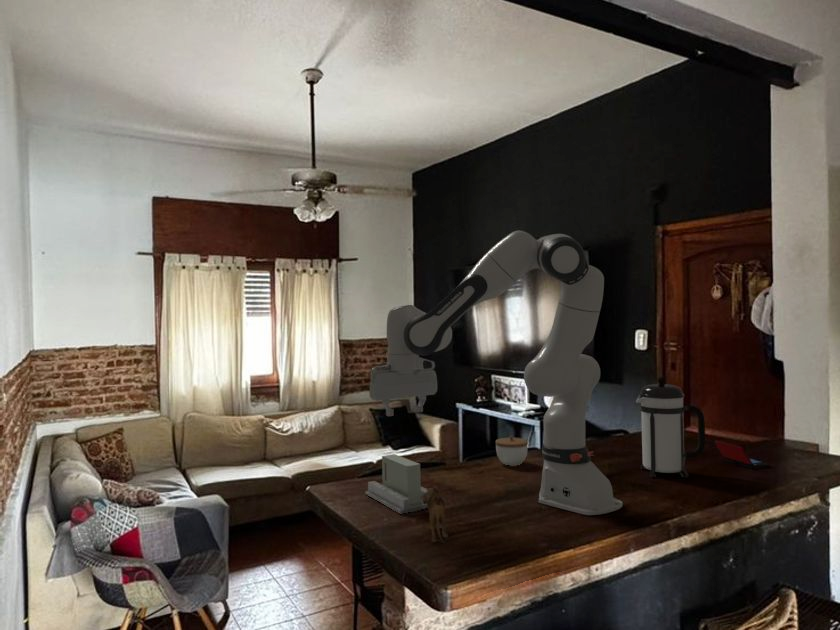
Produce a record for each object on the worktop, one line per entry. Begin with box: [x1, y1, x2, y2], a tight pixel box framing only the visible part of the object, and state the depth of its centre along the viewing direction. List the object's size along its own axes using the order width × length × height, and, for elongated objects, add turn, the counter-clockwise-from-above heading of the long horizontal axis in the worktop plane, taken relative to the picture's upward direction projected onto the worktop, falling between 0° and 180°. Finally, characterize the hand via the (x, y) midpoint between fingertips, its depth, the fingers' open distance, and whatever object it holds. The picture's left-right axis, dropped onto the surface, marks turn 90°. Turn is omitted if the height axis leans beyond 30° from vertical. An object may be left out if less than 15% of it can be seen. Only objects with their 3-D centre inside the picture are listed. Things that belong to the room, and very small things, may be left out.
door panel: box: [381, 453, 422, 504], centre depth 159 cm, size 14×4×10 cm, turn 32°
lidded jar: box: [495, 435, 529, 467], centre depth 196 cm, size 11×11×9 cm
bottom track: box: [364, 480, 428, 515], centre depth 159 cm, size 20×12×4 cm, turn 32°
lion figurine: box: [420, 487, 449, 544], centre depth 135 cm, size 15×5×9 cm, turn 12°
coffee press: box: [635, 376, 706, 479], centre depth 181 cm, size 17×16×30 cm
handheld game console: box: [714, 439, 771, 470], centre depth 190 cm, size 12×11×7 cm
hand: (404, 413), depth 161 cm, fingers open, 8 cm apart
